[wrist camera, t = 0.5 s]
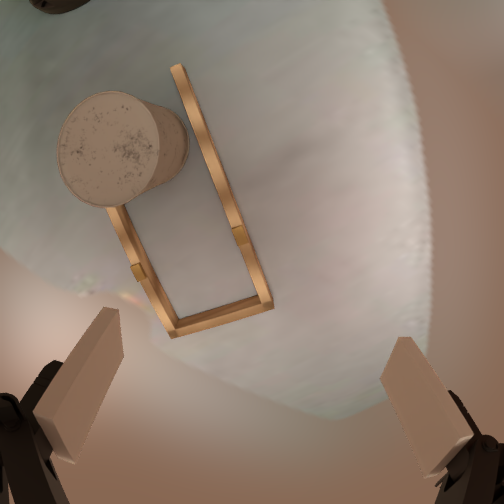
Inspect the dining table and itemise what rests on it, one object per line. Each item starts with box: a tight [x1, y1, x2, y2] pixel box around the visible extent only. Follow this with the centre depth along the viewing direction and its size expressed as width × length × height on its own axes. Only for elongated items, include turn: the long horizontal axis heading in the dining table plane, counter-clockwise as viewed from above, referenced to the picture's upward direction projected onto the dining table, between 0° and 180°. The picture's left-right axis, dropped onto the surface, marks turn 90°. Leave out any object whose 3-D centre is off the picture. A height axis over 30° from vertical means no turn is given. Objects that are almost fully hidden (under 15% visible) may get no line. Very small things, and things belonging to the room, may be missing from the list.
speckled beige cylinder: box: [57, 91, 189, 208], centre depth 28 cm, size 10×10×12 cm
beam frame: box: [106, 63, 274, 339], centre depth 34 cm, size 30×14×3 cm, turn 20°
